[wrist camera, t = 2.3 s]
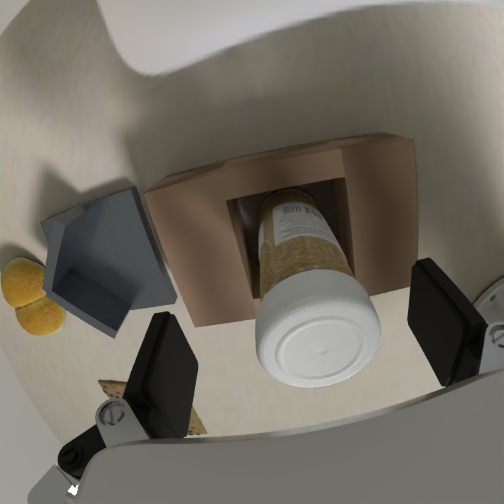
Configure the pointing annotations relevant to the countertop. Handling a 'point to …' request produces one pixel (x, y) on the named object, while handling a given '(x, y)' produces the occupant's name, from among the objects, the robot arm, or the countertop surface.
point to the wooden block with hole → (277, 177)
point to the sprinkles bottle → (309, 298)
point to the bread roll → (31, 298)
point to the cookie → (117, 390)
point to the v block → (105, 261)
